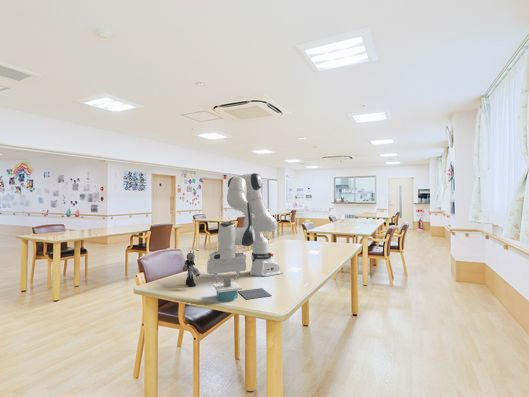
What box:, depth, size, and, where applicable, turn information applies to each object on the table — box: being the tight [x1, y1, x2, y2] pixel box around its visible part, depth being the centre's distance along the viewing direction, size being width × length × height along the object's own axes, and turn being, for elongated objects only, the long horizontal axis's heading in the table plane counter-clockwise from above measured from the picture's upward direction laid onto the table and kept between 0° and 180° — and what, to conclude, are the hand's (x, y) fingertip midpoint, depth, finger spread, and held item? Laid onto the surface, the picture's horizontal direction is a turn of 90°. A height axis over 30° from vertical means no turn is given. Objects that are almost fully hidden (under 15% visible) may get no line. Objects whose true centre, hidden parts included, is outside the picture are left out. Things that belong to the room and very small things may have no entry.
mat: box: [238, 287, 272, 300], centre depth 162 cm, size 14×14×1 cm
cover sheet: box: [212, 277, 243, 293], centre depth 156 cm, size 12×12×4 cm
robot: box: [182, 250, 201, 288], centre depth 179 cm, size 20×5×20 cm, turn 38°
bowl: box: [216, 290, 239, 302], centre depth 156 cm, size 10×10×5 cm
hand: (227, 280), depth 156 cm, fingers open, 8 cm apart
